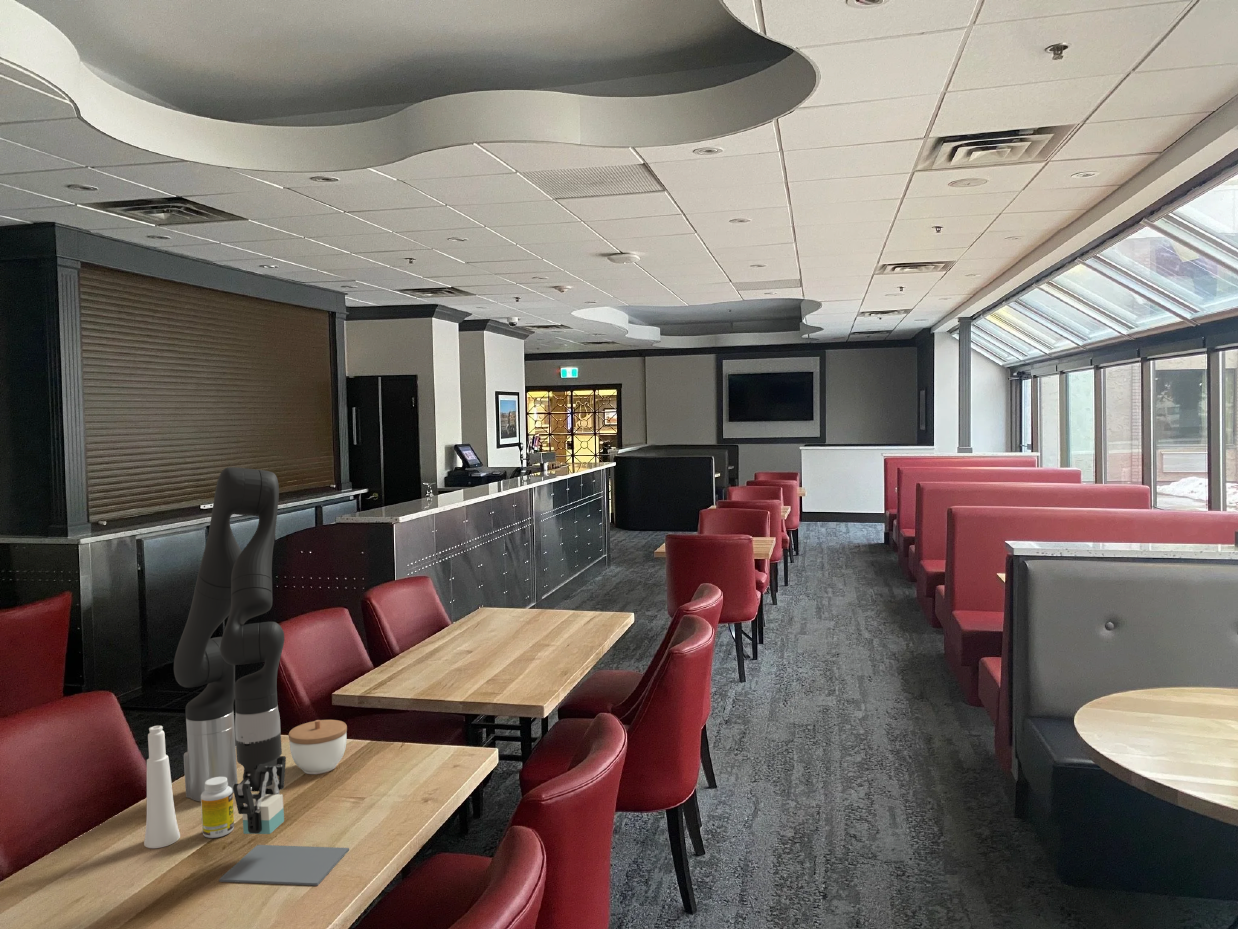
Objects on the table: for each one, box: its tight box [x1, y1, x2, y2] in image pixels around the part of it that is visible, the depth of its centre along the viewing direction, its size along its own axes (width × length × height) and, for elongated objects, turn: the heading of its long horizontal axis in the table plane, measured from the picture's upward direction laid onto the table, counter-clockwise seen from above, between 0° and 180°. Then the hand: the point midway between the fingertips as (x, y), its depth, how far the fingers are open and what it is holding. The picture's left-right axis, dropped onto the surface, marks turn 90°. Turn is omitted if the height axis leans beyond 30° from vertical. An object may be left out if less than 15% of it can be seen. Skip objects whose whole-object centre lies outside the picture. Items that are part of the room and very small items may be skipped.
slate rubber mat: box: [218, 844, 350, 887], centre depth 150 cm, size 18×12×1 cm, turn 83°
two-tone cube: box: [241, 793, 285, 835], centre depth 153 cm, size 5×5×5 cm
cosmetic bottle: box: [143, 725, 181, 849], centre depth 160 cm, size 6×6×22 cm
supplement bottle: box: [200, 777, 235, 839], centre depth 163 cm, size 6×6×10 cm
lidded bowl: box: [288, 719, 348, 775], centre depth 193 cm, size 13×13×11 cm
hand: (263, 824), depth 153 cm, fingers closed on two-tone cube, 5 cm apart
